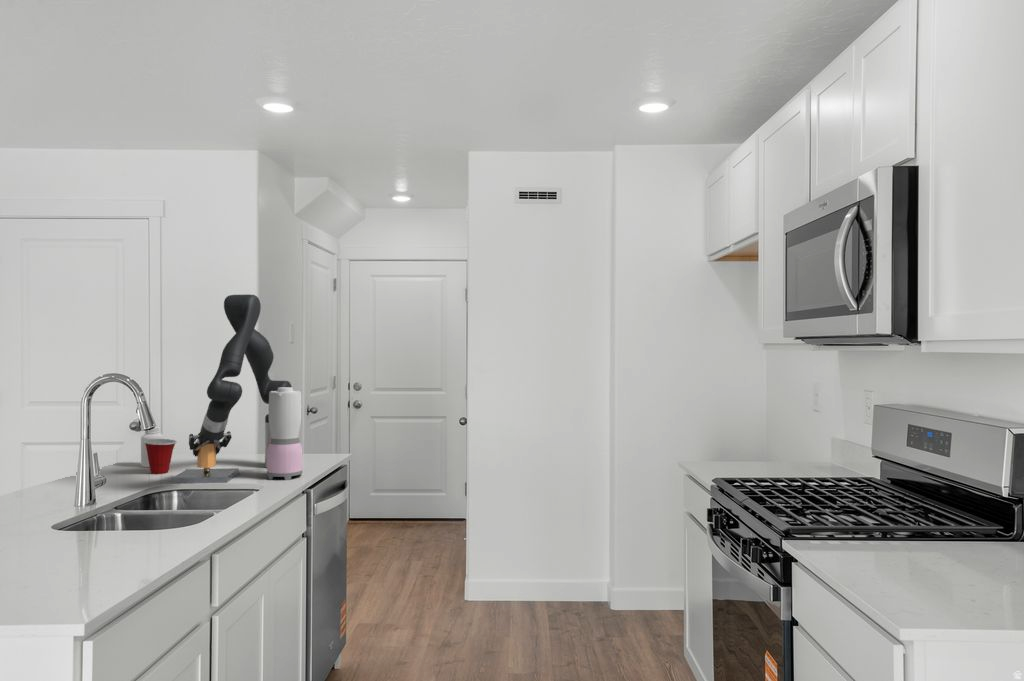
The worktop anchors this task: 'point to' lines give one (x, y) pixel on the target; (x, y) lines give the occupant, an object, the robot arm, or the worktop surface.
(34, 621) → the worktop surface
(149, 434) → the pill bottle
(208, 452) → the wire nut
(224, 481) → the plate
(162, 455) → the plastic cup
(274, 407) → the blender
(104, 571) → the worktop surface
